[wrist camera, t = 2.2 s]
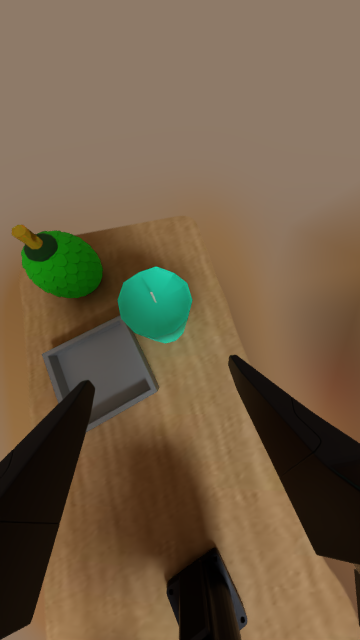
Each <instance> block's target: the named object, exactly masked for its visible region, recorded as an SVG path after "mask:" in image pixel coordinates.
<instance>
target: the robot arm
mask: <svg viewBox="0 0 360 640" xmlns="http://www.w3.org/2000/svg"><path fill="white" fill-rule="evenodd" d="M228 366H229V369H230V372H231V375H232V377H233V380H234V383H235V386H236V388H237V391H238V393H239V395H240V397H241V399H242V401H243V403H244V405H245V408H246V410H247V412H248V414H249V416H250V418H251V420H252V422H253V424H254V426H255V428H256V430H257V432H258V435H259V437H260V439H261V441H262V443H263V445H264V447H265V449H266V451H267V453H268V455H269V457H270V459H271V462H272V464H273V466H274V468H275V470H276V472H277V474H278V476H279V478H280V480H281V482H282V485H283V487H284V489H285V491H286V493H287V495H288V497H289V499H290V501H291V503H292V505H293V507H294V509H295V512H296V514H297V516H298V518H299V520H300V522H301V524H302V526H303V528H304V530H305V532H306V534H307V536H308V539H309V541H310V543H311V545H312V547H313V549H314V551H315V553H316V554H317V555H319V556H323V557H328V558H332V559H336V560H341V561H345V562H349V563H353V564H354V565H355V567H356V569H355V570H354V573H355V584H356V595H357V605H358V617H359V626H360V443H358V442H357V441H355V440H354V439H352V438H351V437H349V436H348V435H346V434H344V433H343V432H342V431H340V430H339V429H337V428H335V427H334V426H332V425H331V424H330V423H328V422H326V421H325V420H323V419H322V418H320V417H319V416H318V415H316V414H315V413H313V412H312V411H310V410H309V409H308V408H306V407H305V406H303V405H302V404H301V403H299V402H298V401H297V400H295V399H294V398H293V397H291V396H290V395H289V394H287V393H286V392H285V391H283V390H282V389H281V388H279V387H278V386H277V385H275V384H274V383H272V382H271V381H270V380H269V379H268V378H266V377H265V376H264V375H262V374H261V373H260V372H258V371H257V370H256V369H254V368H253V367H252V366H250V365H249V364H248V363H246V362H245V361H244V360H242V359H241V358H240V357H238V356H237V355H230V356H229V362H228ZM94 395H95V386H94V385H93V384H92V383H91V381H90V380H83V381H81V382H80V383H79V384H78V385H77V386H76V387H75V388H74V389H73V390H72V391H71V392H70V393H69V394H68V395H67V396H66V397H65V398H64V399H63V400H62V401H61V402H60V403H59V404H58V405H57V406H56V407H55V408H54V409H53V410H52V411H51V412H50V413H49V414H48V415H47V416H46V417H45V418H44V419H43V420H42V421H41V422H40V423H39V424H38V425H37V426H36V427H35V428H34V429H33V430H32V431H31V432H30V433H29V434H28V435H27V436H26V437H25V438H24V439H23V440H22V441H21V442H20V443H19V444H18V445H17V446H16V447H15V448H14V449H13V450H12V451H11V452H10V453H9V454H8V455H7V456H6V457H5V458H4V459H3V460H2V461H1V462H0V640H1V639H3V638H5V637H6V636H8V635H10V634H12V633H14V632H16V631H18V630H20V629H21V628H23V627H25V626H27V625H29V624H30V623H31V620H32V618H33V614H34V611H35V608H36V604H37V601H38V597H39V594H40V591H41V587H42V583H43V580H44V577H45V573H46V570H47V566H48V563H49V559H50V556H51V552H52V549H53V545H54V542H55V538H56V535H57V531H58V528H59V523H60V521H61V517H62V514H63V510H64V507H65V503H66V500H67V496H68V493H69V489H70V486H71V482H72V479H73V475H74V472H75V468H76V465H77V461H78V458H79V454H80V451H81V447H82V444H83V441H84V437H85V434H86V430H87V427H88V423H89V420H90V416H91V411H92V405H93V400H94ZM214 556H216V557H214ZM167 596H168V599H169V601H170V604H171V607H172V609H173V612H174V615H175V617H176V620H177V622H178V625H179V640H241V635H240V630H241V629H242V628H243V627H244V626H246V624H247V616H246V612H245V609H244V607H243V604H242V602H241V600H240V598H239V596H238V594H237V591H236V589H235V587H234V585H233V583H232V580H231V578H230V576H229V574H228V572H227V569H226V567H225V565H224V563H223V561H222V558H221V556H220V554H219V552H218V550H217V549H216V548H213V549H211V550H210V551H209V552H207V553H206V554H205V555H203V556H202V557H200V558H199V559H198V560H196V561H195V562H194V563H192V564H191V565H190V566H188V567H187V568H185V569H184V570H183V571H181V572H180V573H179V574H177V575H176V576H175V577H173V578H172V579H171V580H169V581H168V583H167Z"/></svg>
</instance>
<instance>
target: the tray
mask: <svg viewBox="0 0 360 640" xmlns="http://www.w3.org/2000/svg"><path fill="white" fill-rule="evenodd" d="M42 356H43V359H44V362H45V365H46V368H47V371H48V374H49V377H50V380H51V383H52V385H53V388H54V391H55V394H56V397H57V400H58V403H60V402H61V401H62V400H63V399H64V398H65V397H66V396H67V395H68V394H69V393H70V392H71V391H72V390H73V389H74V388H75V387H76V386H77V385H78V384H79V383H80V382H81V381H83V380H90V381H91V383H92V384H93V385H94V386H95V395H94V400H93V405H92V411H91V416H90V420H89V423H88V427H87V430H86V432H88V431H89V430H91V429H93V428H95V427H96V426H98V425H100V424H101V423H103V422H105V421H107V420H108V419H110V418H112V417H114V416H115V415H117V414H119V413H121V412H122V411H124V410H126V409H128V408H129V407H131V406H133V405H135V404H136V403H138V402H140V401H142V400H143V399H145V398H147V397H149V396H150V395H152V394H154V393H156V392H157V391H158V389H159V385H158V383H157V381H156V379H155V377H154V375H153V373H152V371H151V369H150V366H149V364H148V362H147V360H146V358H145V356H144V354H143V352H142V350H141V348H140V345H139V343H138V341H137V339H136V337H135V335H134V333H133V331H132V330H131V329H130V328H129V326H128V325H127V324H126V323H125V322H124V321H123V320H122V319H121V316H118V317H116V318H114V319H112V320H110V321H108V322H106V323H103V324H101V325H99V326H97V327H95V328H93V329H91V330H89V331H87V332H85V333H83V334H81V335H79V336H77V337H75V338H73V339H71V340H69V341H67V342H65V343H63V344H61V345H59V346H57V347H55V348H53V349H51V350H49V351H47V352H45V353H43V354H42Z"/></svg>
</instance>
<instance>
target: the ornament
mask: <svg viewBox="0 0 360 640" xmlns="http://www.w3.org/2000/svg"><path fill="white" fill-rule="evenodd" d="M12 235H13V236H14V237H16V238H17V239H19V240H20V241H22V242H23V243H25V246H24V247H23V250H22V252H21V255H22V266H23V268H24V269H26V273H27V275H28V277H29V279H32V281H33V282H34V284H36V285H37V286H39V288H42V289H43V290H44V291H45V292H47V293H51V294H53V295H55V296H58V297H61V296H62V297H65V298H79V297H82V296H86V295H87V294H90V293H92V292H93V291H94V290H95V289H96V288H97V287H98V285H99V283H100V282H101V278H102V271H103V268H102V265H101V261H100V259H99V258H98V256H97V253H96V252H95V251H94V250H93V249H92V248H91V246H90V245H89V244H87V243H86V242H85V241H83V240H82V239H81V238H79V237H76V236H73V235H72V234H69V233H65V232H61V231H49V232H47V231H43V232H40V233H38V234H33V233H32V232H31V231H30V230H29V229H27V228H26V227H25V226H24V225H17V226H15V227H14V228H12Z"/></svg>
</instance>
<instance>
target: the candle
mask: <svg viewBox="0 0 360 640" xmlns="http://www.w3.org/2000/svg"><path fill="white" fill-rule="evenodd" d="M117 301H118V306H119V311H120V316H121V319H122V320H123V321H124V322H125V323H126V324H127V325H128V326H129V328H130V329H131V330H132V331H133V332H134V333H136V334H139V335H141V336H144V337H147V338H149V339H152V340H155V341H158V342H162V343H169V342H173V341H176V340H177V339H178V338H179V337H180V336H181V335H182V334H183V332H184V329H185V326H186V322H187V319H188V316H189V312H190V308H191V304H192V297H191V294H190V290H189V287H188V284H187V282H185V281H184V280H183V279H181V278H180V277H179V276H177V275H176V274H175V273H173V272H170V271H167V270H165V269H162V268H159V267H153V268H150V269H147V270H144V271H141V272H139V273H137V274H136V275H134V276H133V277H131V278H130V279H128V280H127V281H125V282H123V285H122V288H121V291H120V294H119V297H118V300H117Z"/></svg>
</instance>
